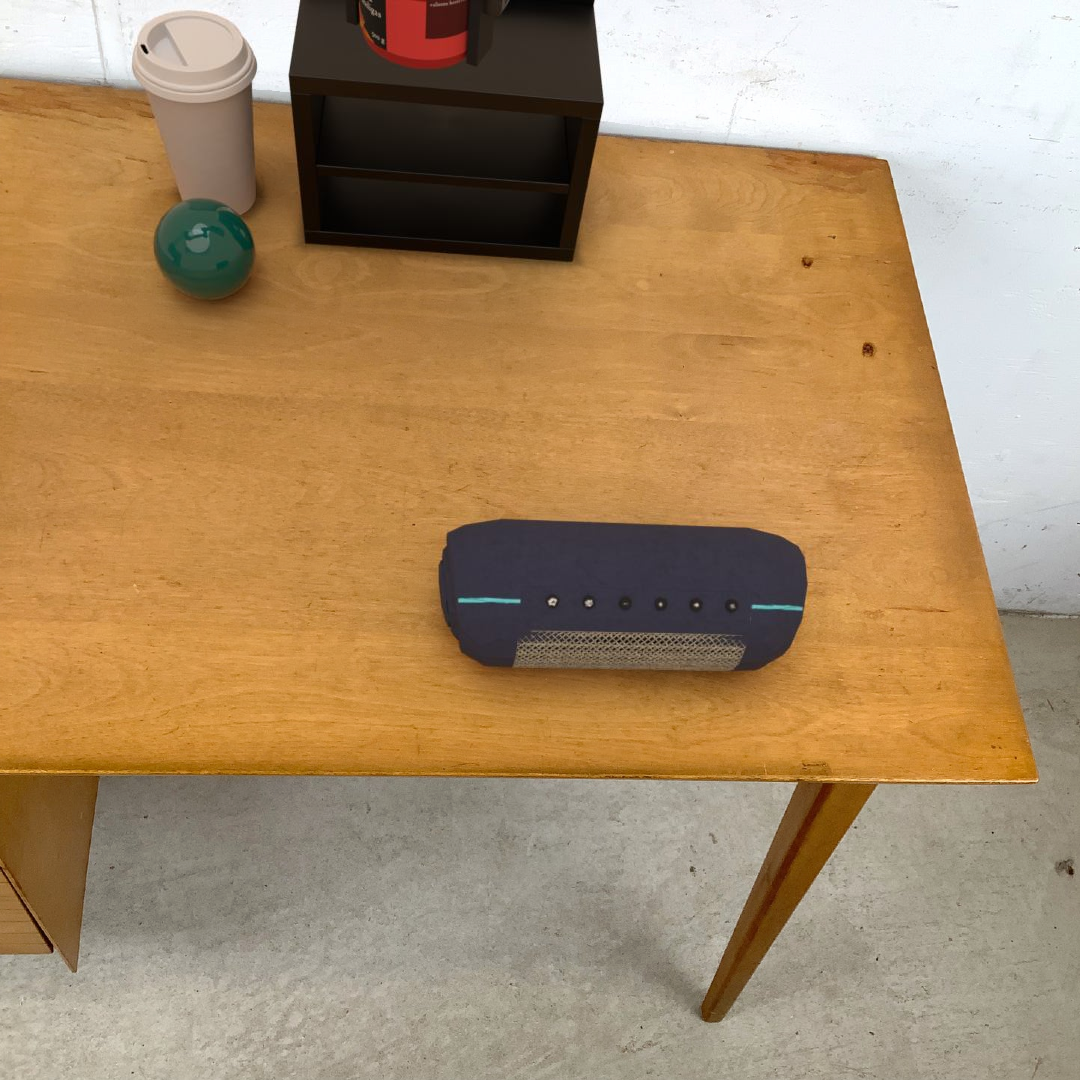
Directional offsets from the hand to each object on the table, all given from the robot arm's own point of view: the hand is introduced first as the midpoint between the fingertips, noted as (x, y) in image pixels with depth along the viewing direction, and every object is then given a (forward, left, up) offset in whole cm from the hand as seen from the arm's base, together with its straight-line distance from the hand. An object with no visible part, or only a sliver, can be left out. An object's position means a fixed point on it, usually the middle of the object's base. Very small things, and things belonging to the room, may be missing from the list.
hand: (419, 33), depth 68 cm
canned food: (0, 0, 0) cm, 0 cm away
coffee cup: (-20, +3, -24) cm, 31 cm away
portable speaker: (+26, -25, -24) cm, 43 cm away
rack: (-2, +12, -24) cm, 27 cm away
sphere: (-15, -7, -24) cm, 29 cm away
